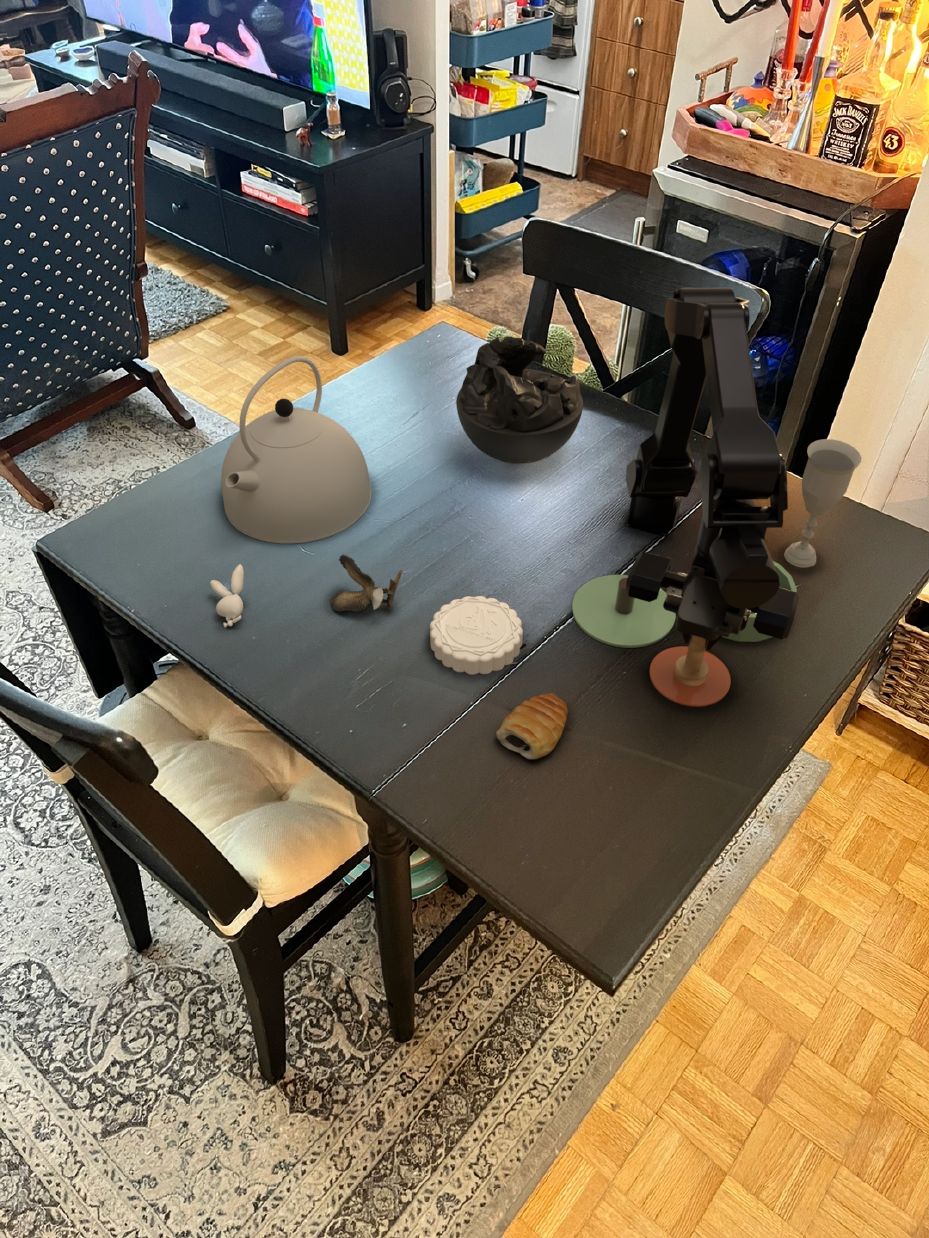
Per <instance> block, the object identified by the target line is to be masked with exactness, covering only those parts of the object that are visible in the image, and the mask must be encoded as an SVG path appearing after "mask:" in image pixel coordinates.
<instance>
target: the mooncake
mask: <svg viewBox="0 0 929 1238" xmlns="http://www.w3.org/2000/svg"><path fill="white" fill-rule="evenodd" d="M522 624H523V623H522V620H521V618H519V617H518V613H517V611H516V610H515V609H512V608H510V607H509V605H508V604H507V603H506V602H500V601H499V600H498V599H497V598H493V597H488V598H486V597H485V596H483V595H477V596H469V595H468V596H464V597H462V598H461V599H459V598H457V599H456V598H455V599H453V600H451V601H450V602H449V603H447V604H443V605H442V606H441V607H440V609H439V611H436V612H435V613H434V614H433V619H432V621H431V622H430V624H429V634H430V635H429V637H430V639H429V640H430V648H431V650H432V651H433V652H434V657H435V658H436V660H439V661H441V663H442V665H443V666H444V667H446V668H452V670H453V671H455V672H456V673H464V672H465V673H466V674H468V675H471V676H472V675H477V674H481V675H488V674H490V673H492V671H493V672H499V671H501V670H502V669H504V668H505V666H509V665H511V664H512V663H513V662H514V658H517V657H518V656H519V655H520V652H521V651H520V650H521V648H522V646H523V637H524V636H523V635H524V633H523V632H524V630H523V627H522Z"/></svg>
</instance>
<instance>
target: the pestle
mask: <svg viewBox="0 0 929 1238" xmlns="http://www.w3.org/2000/svg"><path fill="white" fill-rule="evenodd" d="M708 641H709V640H705V639H703V638H701V637H698V636H694V635H691V637H690V640H689V643H688V646H687V647H688V651H687V655H685V656H682V657H680V658H679V659H678V660H677V662H676V665H675V670H674V675H675V677H676V679H677V680H678V681H679V682H680V683H682V684H684V685H687V686H699V685H701V684H703V683H704V682H705V680H706V678H707V674H708V670H709V668H708V665H707V663H706V662H705V661H704V660H703V657H704V653H705V651H706V648H707V644H708Z"/></svg>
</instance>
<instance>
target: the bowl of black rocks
mask: <svg viewBox="0 0 929 1238" xmlns="http://www.w3.org/2000/svg"><path fill="white" fill-rule="evenodd" d="M547 353H548V351H547V350H546V349H545V348H544V347H543V346H542V345H541V344H539V343H537V342H534V341H532V340H524V338H522V337H514V336H510V335H509V336H507V335H506V336H505V337H504V338H503V339H502V338H501V337H499V336H497V337H496V338H494V339H492V340H490V342H486V343H483V344H482V345H481V346H479V347H478V349H477V353H476V356H475V361H474V363H473V364H471V365H470V366H467V367H466V374H465V376H464V379H463V381H462V384H461V387H460V389H459V391H458V392H457V395H456V398H455V399H456V400H455V405H456V411H457V416H458V420H459V422H460V425H461V427H462V430H463V431H464V433H465V434H466V435H465V436H467V438H468V439H469V441H470V442H471V443H472V444H473V445H474V446H475V447H476V448H477V449H478V450H479V451H480V452H482V453H483V454H485V455H486V456H487V457H490V458H491V459H494V460H496V461H499V462H502V463H506V464H512V465H525V464H526V465H527V464H531V463H536V462H539V461H542V460H545V459H547V458H549V457H551V456H552V455H554V454H555V453H557V452H558V451H559V450H560V449H562V447H564V446H565V445H566V444H567V443H568V442H569V440H570V439H571V438H572V437H573V434H574V432H575V431H576V429H577V427H578V426H579V423H580V422H581V421H580V420H581V418H582V414H583V410H584V400H583V397H582V394H581V389H580V386H581V385H580V379H579V378H578V376H577V375H571V376H570V377H568V378H563V377H561V376H559V375H556V374H554V373H550V372H547V371H543V370H539V369H538V370H537V369H530V368H528V366H529V365H530V364H532V362H533V361H535V359H537V356H541V355H546V354H547Z"/></svg>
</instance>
